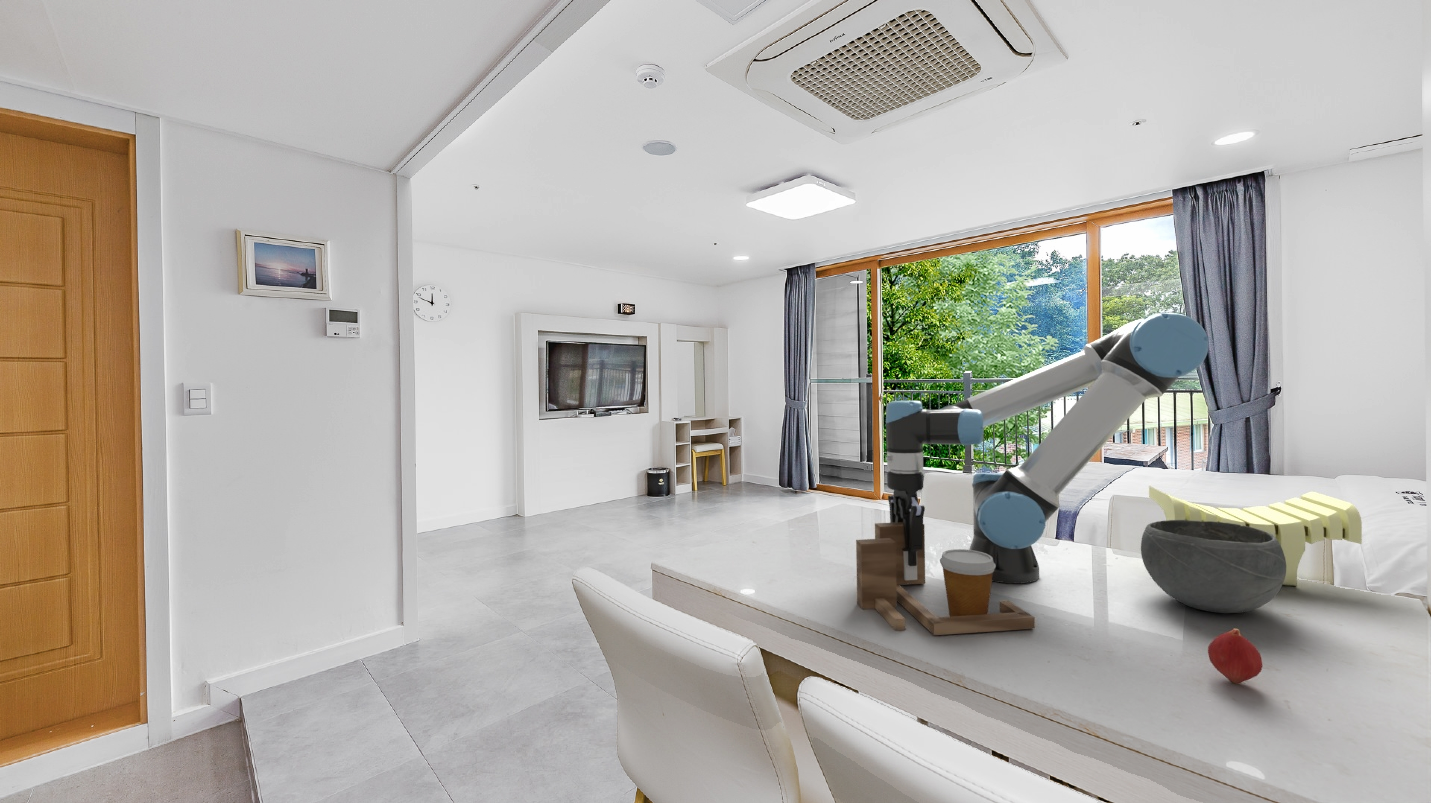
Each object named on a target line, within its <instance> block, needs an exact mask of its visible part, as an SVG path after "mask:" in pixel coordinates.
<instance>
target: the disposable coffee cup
mask: <svg viewBox="0 0 1431 803" xmlns="http://www.w3.org/2000/svg"><path fill="white" fill-rule="evenodd" d="M939 563H940V566H941V567H942V571H943V578H944V579H943V580H944V585H945V586H944V587H945V593H946V599H947V607H948V614H949V617H952V616H967V615H983V614H989V605H990V598H991V590H992V589H991V588H992V584H993V583H992V582H993V581H992V575H993V572H994V569H995V567H996V565H995V563H994V562H993V558H992V557H991V556H990V555H988V554H986V553H983V552H979V551H974V550H969V549H965V548H964V549H961V548H959V549H954V548H953V549H949V550H945V551H943V552H942V554H941V557H940V559H939Z"/></svg>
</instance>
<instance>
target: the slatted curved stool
mask: <svg viewBox="0 0 1431 803" xmlns="http://www.w3.org/2000/svg"><path fill="white" fill-rule="evenodd" d="M1148 497H1149V499H1151V500H1153V501H1154V502H1155V503H1156V504H1157V505H1159V506H1160V507H1161V510H1162V511H1163V514H1164V516H1165V521H1166V520H1189V521H1213V522H1224V523H1232V524H1238V525H1241V526H1248V527H1253V528H1257V529H1261V530H1263V531H1266V532H1268V533H1271V534H1273V535H1274V536H1275V537H1276V538H1277V540H1278V542H1279V544H1280V545H1281V547H1282V550H1283V552H1284V556H1285V560H1286V576H1285V580H1284V582H1283V585H1282V586H1295V587H1297V586H1298V568H1299V565H1300V563H1301V562H1300V561H1301V560H1302V557H1303V555H1304V553H1305V552H1306V543H1307V544H1310V545H1312V544H1315V543H1318V542H1321V541H1324V539H1328V540H1332V541H1333V540H1334V541H1336V540H1337V541H1343V540H1345V541H1347V542H1350V543H1351V542H1352V543H1355V544H1359V545H1362V541H1363V540H1362V537H1363V536H1362V532H1363V531H1362V528H1363V527H1362V524H1363V522H1362V517H1361V515H1360V512H1359V510H1358V509H1357V506H1355V505H1354V504H1353V503H1352V502H1348V501H1345V500H1342V499H1338V498H1336V497H1332V496H1328V495H1327V494H1326V495H1325V494H1322V493H1319V492H1315V491H1309V492H1307V493H1304V494H1302V495H1300V498H1298V497H1293V498H1290V499H1286V500H1284V503H1282V502H1280V501H1279V502H1275V503H1272V504H1271V503H1270V504H1268V507H1267V506H1264V505H1262V506H1261V505H1260V506H1252V507H1244V508H1242V509H1239V508H1238V507H1237V508H1236V507H1235V508H1230V507H1229V508H1228V507H1227V508H1226V507H1225V508H1224V507H1216V508H1215V507H1213V506H1209V505H1204V504H1200V503H1199V504H1198V503H1194V502H1189V501H1187V500H1184V499H1182V498H1178V497H1175V496H1173V495H1170V494H1168V493H1166V492H1163V491H1160V490H1159V489H1157V488H1155V487H1152V486H1151V485H1149V486H1148Z"/></svg>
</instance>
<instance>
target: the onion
mask: <svg viewBox="0 0 1431 803" xmlns="http://www.w3.org/2000/svg"><path fill="white" fill-rule="evenodd" d="M1207 654H1208V658H1209V662H1210V663H1211V664H1212V666H1213V668H1215V669H1216V670H1217V671H1218V672H1219V673H1220V674H1222V675H1223V677H1225V678H1227V680H1229V682H1231V683H1233V684H1237V685H1238V684H1242V683H1244V682H1246V681H1248V680H1251V679H1253V678H1256V677H1257V676H1258V675H1259V674H1260V673H1261V672H1262V668H1263V658H1262V656H1261V653H1260V651H1259V650H1258V648H1257V647H1256V646H1255V645H1254V644H1253V643H1252V642H1251V641H1250V640H1249V639H1247V638H1246V637H1244V636H1243V635H1242V634H1241V631H1240V629H1238V628H1232V630H1230V631H1227V632H1224V633H1222V634H1219V635H1217V636H1216V637H1215V638H1214V639H1213V640H1211V642H1210V643H1209V644H1208V647H1207Z"/></svg>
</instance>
